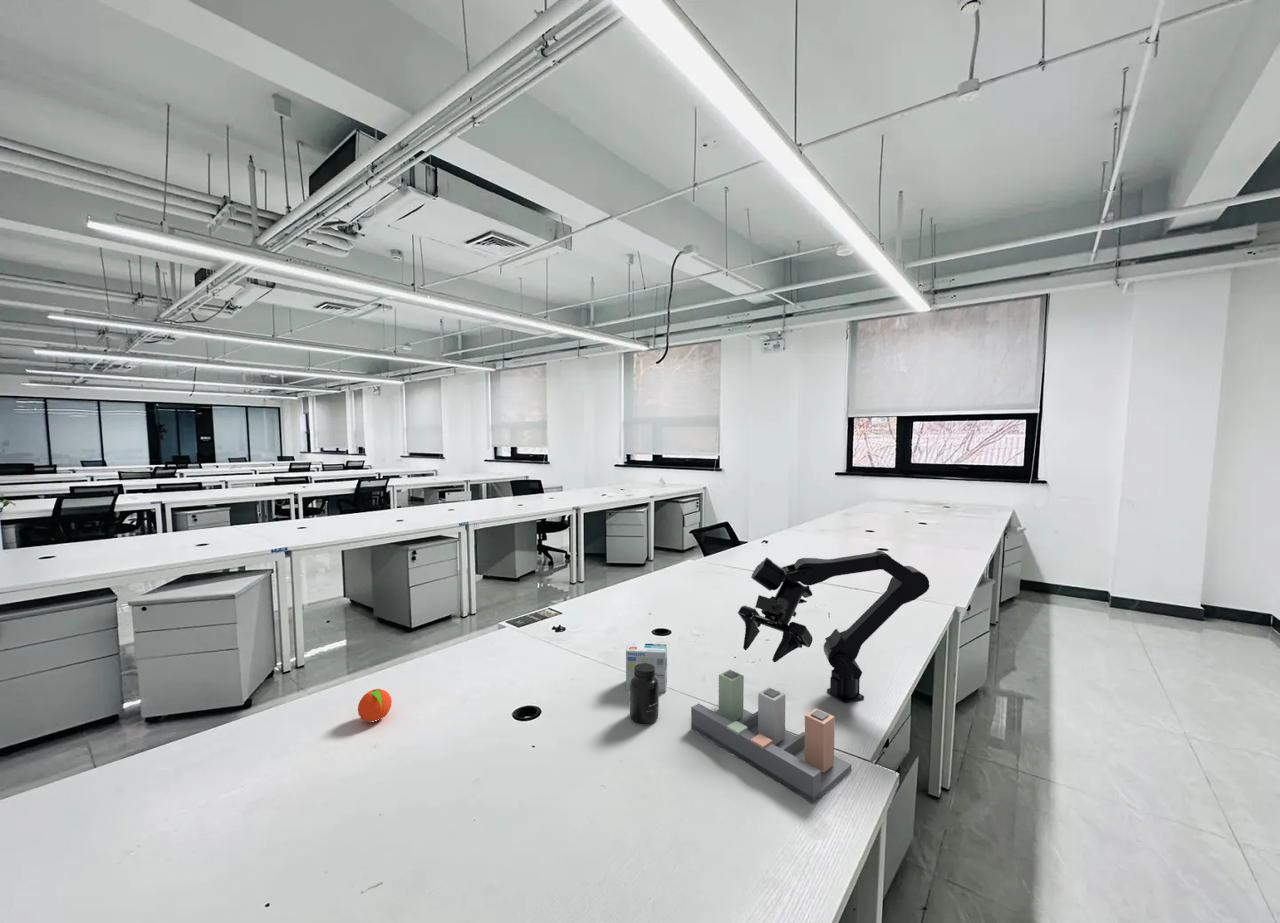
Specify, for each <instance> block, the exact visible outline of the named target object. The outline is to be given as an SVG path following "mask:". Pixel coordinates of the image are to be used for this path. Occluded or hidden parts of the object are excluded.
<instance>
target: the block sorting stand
mask: <svg viewBox="0 0 1280 923" xmlns="http://www.w3.org/2000/svg"><path fill="white" fill-rule="evenodd" d="M690 708H691V710H690V712H691V713H690V714H691V717H690V719H691V720H690V722H691V723H690V729H691V730H692V731H694V732H696V733H697V734H699V735H700V736H702V737H704V738H705V739H707V740H708V741H710V742H712V743H713V744H715V745H716V746H718V747H720V748H721V749H724V750H725V751H726V752H728V753H729V754H731V755H732V756H734V757H736V758H738V759H739V760H741V761H742V762H744V763H746V764H747V765H749V766H750V767H752V768H754V769H755V770H757V771H759V772H760V773H761V774H763V775H765V776H766V777H768V778H770V779H771V780H773V781H775V782H776V783H778V784H780V785H781V786H783V787H784V788H785V789H788V790H790V791H791V792H792V793H794V794H796V795H797V796H799V797H800V798H802V799H804V800H805V801H807V802H809V803H810V804H812V805H815V804H816V803H817V802H818V801H819V800H820V799H821V798H822V797H823V796H824V795H826V794H827V793H828V792H829V791H830V790H831V789H832V788H833V787H835V786H836V785H837V784H838V783H839V782H841V781H842V780H843V779H844V778H845V777H846V776H847V775H848V774H849V773H850V772H851V771H852V764H851V763H849V762H847V761H845V760H843V759H841V758H840V757H838V756H836V755H834V765H833V766H831V767H830V768H829V769H828V770H827V771H825V772H824V773H822V772H821V770H819V769H817V768H815V767H813V766H811V765H810V764H808V763H806V762H804V756H805V731H802V732H801V733H799V734H798V735H794V733H791V732H789V731H787V730H785V739H783V740H782V741H780V742H779V743H777V744H776V745H773V744H772V740H771V739H769V738H767V737H765V736H763V735H761V734H758V710H757V711H755V712H754V713H752V712H750V711H748V710H746V709H744V708H743V717H741V718H739V719H738V720H736V721H734V722H732V721H730V720H728V719H726V718H725V717H723V716H721V715H719V708H718V709H716V710H714V711H713V710H712V709H710V708H708V707H706V706H705V705H703V704H701V703H696V704H695V705H693V706H691V707H690ZM844 776H845V777H844ZM843 777H844V778H843ZM836 783H837V784H836ZM835 784H836V785H835ZM827 791H828V792H827ZM826 792H827V793H826Z"/></svg>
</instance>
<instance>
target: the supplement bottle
mask: <svg viewBox="0 0 1280 923" xmlns="http://www.w3.org/2000/svg"><path fill="white" fill-rule="evenodd" d="M659 693H660V692H659V682H658V680H657V678H656V677H655V667H654V666H653V665H652V664H648V663H640V664H637V665H636V666H635V668H634V677H633V678H632V679H631V681H630V690H629V719H630V721H632V722H633V723H634V724H638V725H643V726H646V725H647V726H648V725H651V724H654V723H655V722H656V721H658V719H659V711H660V710H659V706H660V705H659V704H660V703H659V701H660V700H659V699H660V694H659Z"/></svg>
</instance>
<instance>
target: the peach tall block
mask: <svg viewBox="0 0 1280 923" xmlns="http://www.w3.org/2000/svg"><path fill="white" fill-rule="evenodd" d="M835 719H836V718H835V716H834V715H832V714H830V713H827V712H825V711H823V710H821V709H819V708H817V707H815V708H814V709H812V710H811V711H809V712H808V713H806V714H805V715H804V732H805V756H804V762H806V763H808V764H810V765H811V766H813V767H815V768H817V769H819V770H821V772H822V773H824V772H825V771H827V770H828V769H829V768H830V767H831V766H833V765H834V756H835V725H836V724H835V723H836V721H835Z"/></svg>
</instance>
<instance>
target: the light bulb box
mask: <svg viewBox="0 0 1280 923" xmlns="http://www.w3.org/2000/svg"><path fill="white" fill-rule="evenodd" d="M667 645H668V643H667V642H665V641H663V642H662V641H661V642H659V641H657V642H652V641H631V640H629V641H628V645H627V647H626V650H625V684H626V685H625V690H626V691H630V681H631V679H632V678H633V677H634V668H635V666H636V665H637V664H640V663H648V664H652V665H653V666H654V667H655V677H656V678H657V680H658V682H659V693H666V692H667V686H668V646H667Z"/></svg>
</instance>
